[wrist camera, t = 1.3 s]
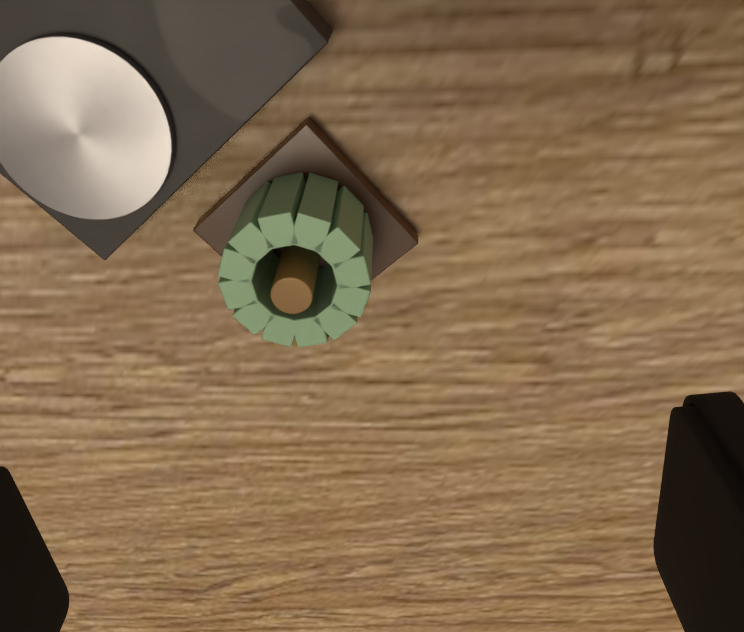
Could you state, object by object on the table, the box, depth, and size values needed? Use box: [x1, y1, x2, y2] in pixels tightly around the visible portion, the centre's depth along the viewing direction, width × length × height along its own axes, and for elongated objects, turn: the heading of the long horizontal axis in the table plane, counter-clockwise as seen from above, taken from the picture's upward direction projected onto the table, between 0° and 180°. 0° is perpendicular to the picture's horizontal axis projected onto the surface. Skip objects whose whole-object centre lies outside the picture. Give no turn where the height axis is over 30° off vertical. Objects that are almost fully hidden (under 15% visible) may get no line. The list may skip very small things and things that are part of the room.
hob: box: [0, 0, 333, 260], centre depth 30 cm, size 15×15×3 cm
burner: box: [0, 33, 176, 220], centre depth 31 cm, size 8×8×1 cm
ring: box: [218, 172, 373, 347], centre depth 33 cm, size 7×7×5 cm
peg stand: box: [193, 118, 418, 314], centre depth 33 cm, size 8×8×7 cm
